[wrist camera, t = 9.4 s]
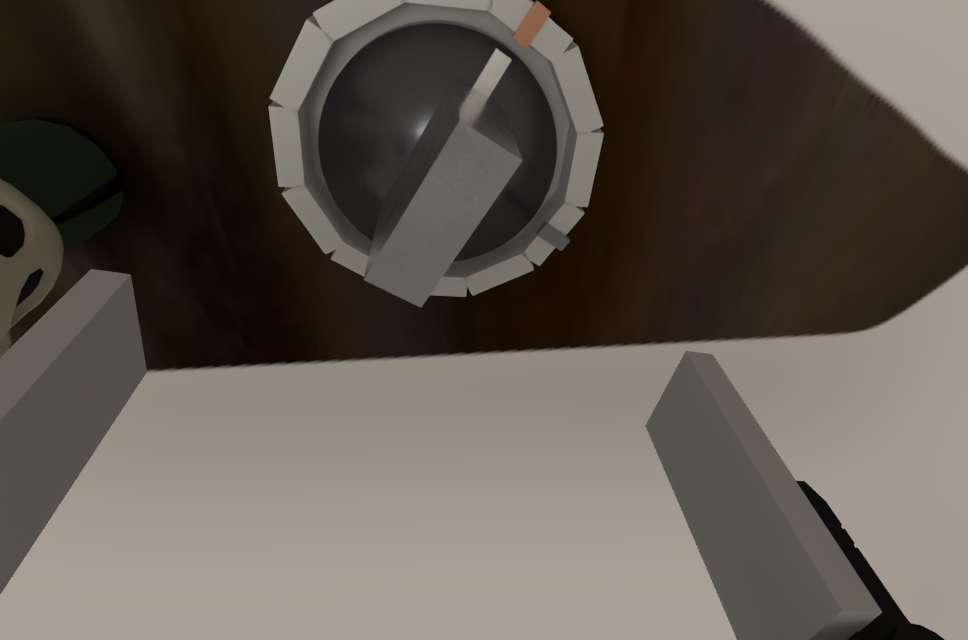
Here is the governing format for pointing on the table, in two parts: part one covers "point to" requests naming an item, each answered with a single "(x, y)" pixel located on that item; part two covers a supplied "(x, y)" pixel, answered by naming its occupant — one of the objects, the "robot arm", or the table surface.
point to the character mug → (45, 209)
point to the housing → (478, 3)
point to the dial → (435, 150)
